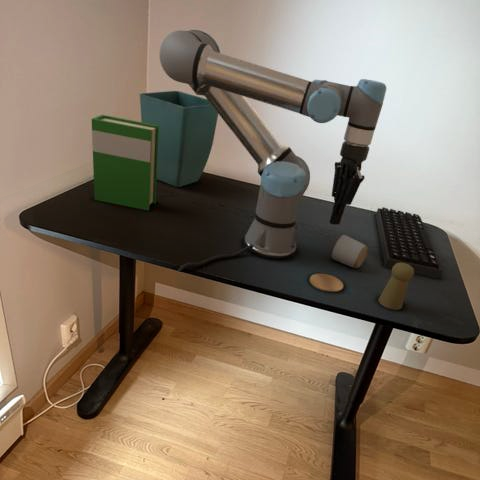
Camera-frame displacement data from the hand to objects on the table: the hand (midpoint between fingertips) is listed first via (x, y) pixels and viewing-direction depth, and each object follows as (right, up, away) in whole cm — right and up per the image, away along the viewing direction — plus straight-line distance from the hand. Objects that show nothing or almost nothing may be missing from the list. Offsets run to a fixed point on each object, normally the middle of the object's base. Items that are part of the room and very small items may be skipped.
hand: (334, 223), depth 137 cm
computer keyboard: (+26, -4, +14) cm, 30 cm away
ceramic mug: (+3, -13, -5) cm, 14 cm away
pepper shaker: (+10, -25, -22) cm, 35 cm away
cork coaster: (-6, -20, -18) cm, 27 cm away
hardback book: (-66, +9, +8) cm, 67 cm away
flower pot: (-53, +23, +32) cm, 66 cm away
